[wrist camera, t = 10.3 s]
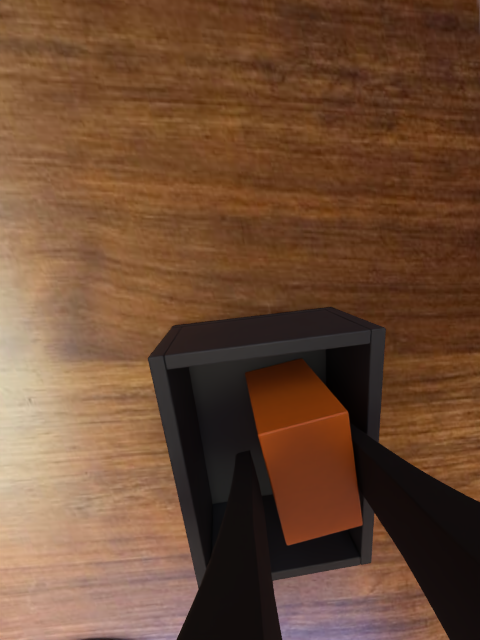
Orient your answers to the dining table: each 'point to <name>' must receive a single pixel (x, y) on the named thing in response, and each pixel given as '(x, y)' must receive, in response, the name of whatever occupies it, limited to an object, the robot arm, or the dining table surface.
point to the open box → (239, 424)
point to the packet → (305, 451)
